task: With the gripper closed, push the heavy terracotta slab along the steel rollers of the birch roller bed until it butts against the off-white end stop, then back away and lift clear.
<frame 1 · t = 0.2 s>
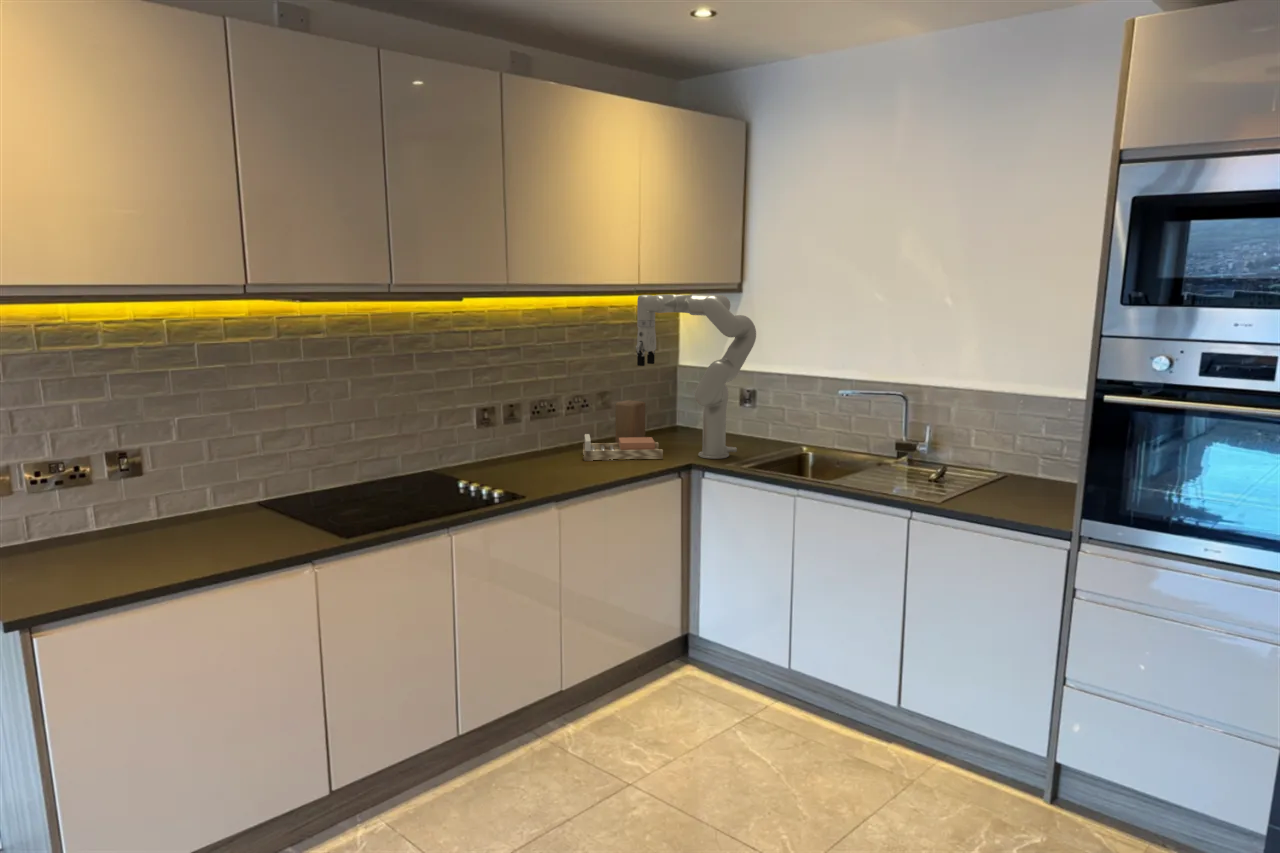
hand: (645, 364, 351), 37 cm above the table, tool pointing down, fingers open, 9 cm apart
rollers: (622, 450, 342), point 2 cm above the table
end stop: (587, 445, 340), point 5 cm above the table
slab: (636, 443, 342), point 5 cm above the table, slide at 0.0 cm
roller bed: (622, 456, 342), on the table
wooden block: (630, 447, 361), on the table
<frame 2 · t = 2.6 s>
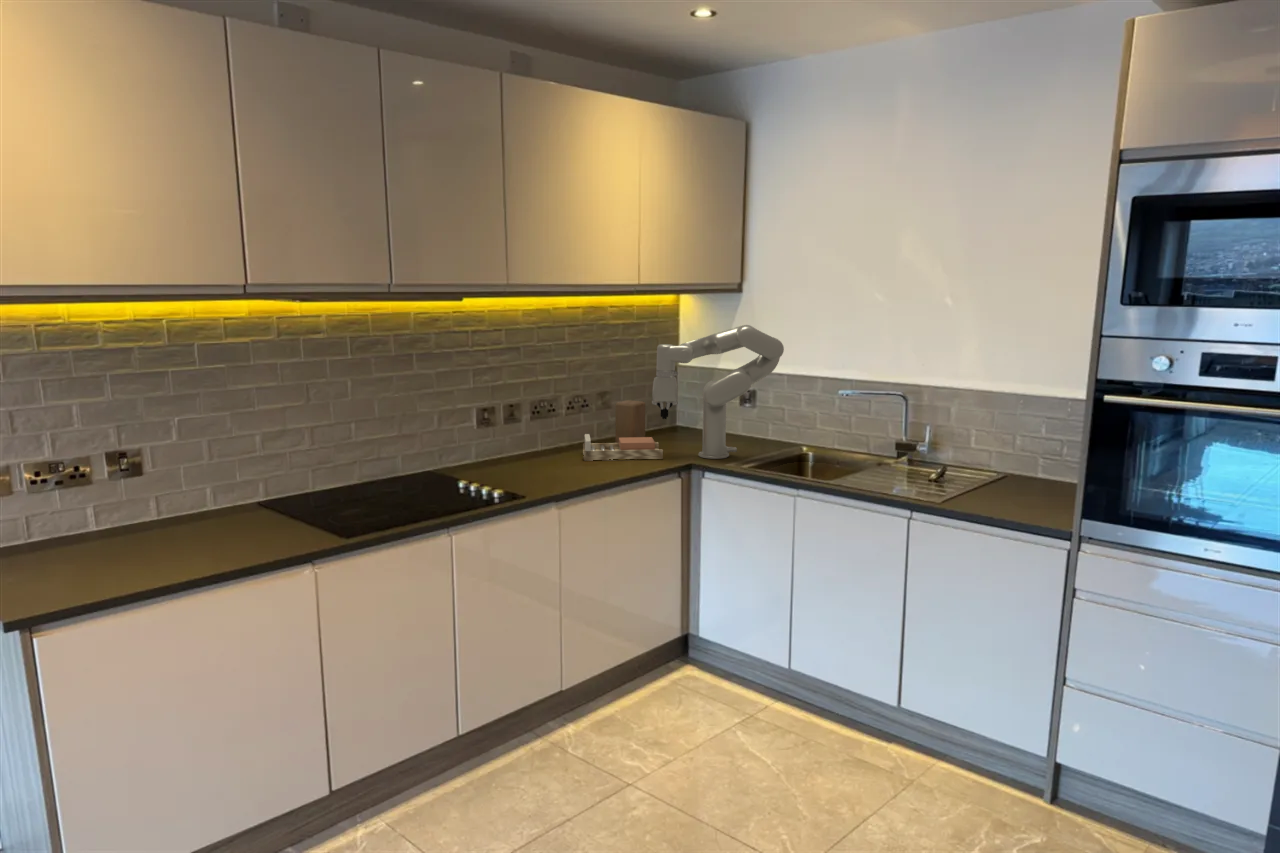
hand: (664, 418, 341), 16 cm above the table, tool pointing down, fingers closed
nothing on the table moved.
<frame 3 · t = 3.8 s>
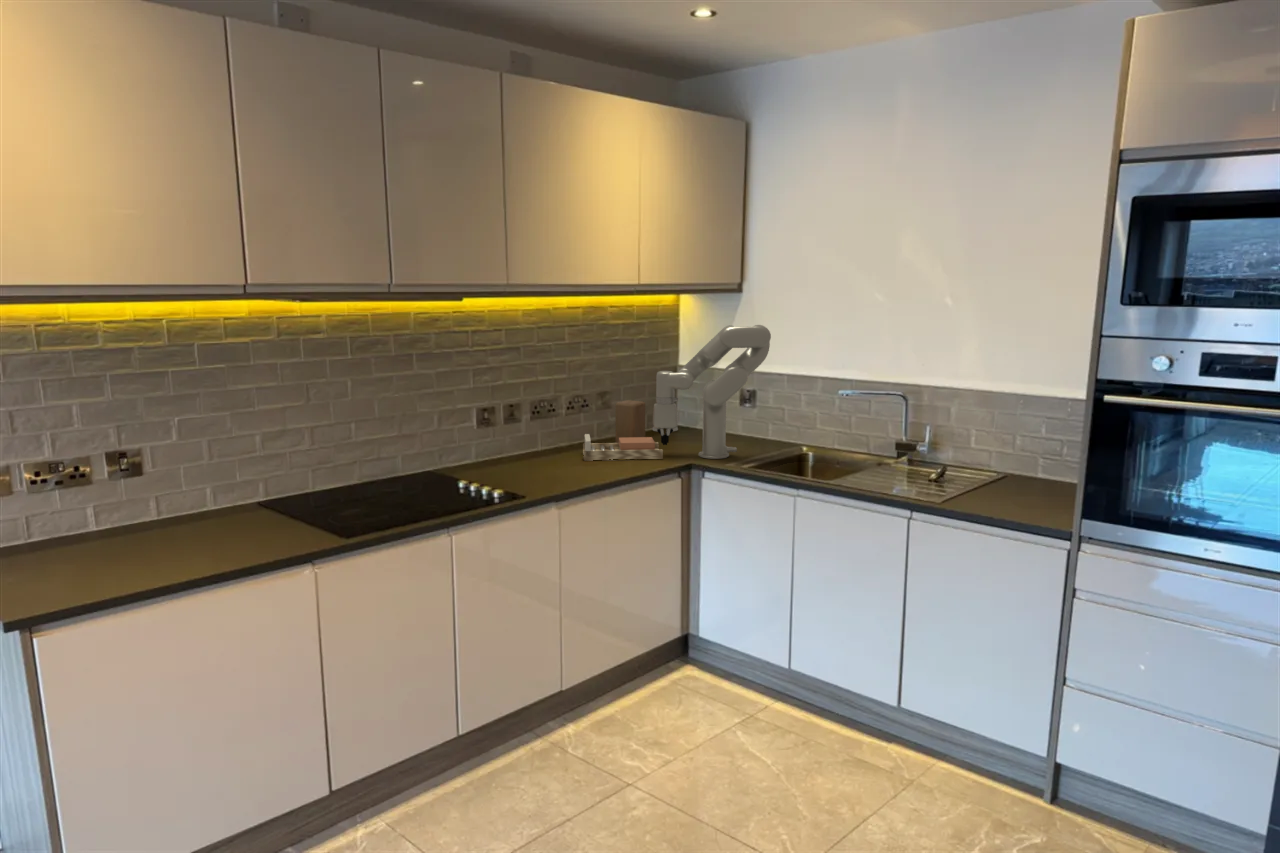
hand: (664, 444, 343), 5 cm above the table, tool pointing down, fingers closed
nothing on the table moved.
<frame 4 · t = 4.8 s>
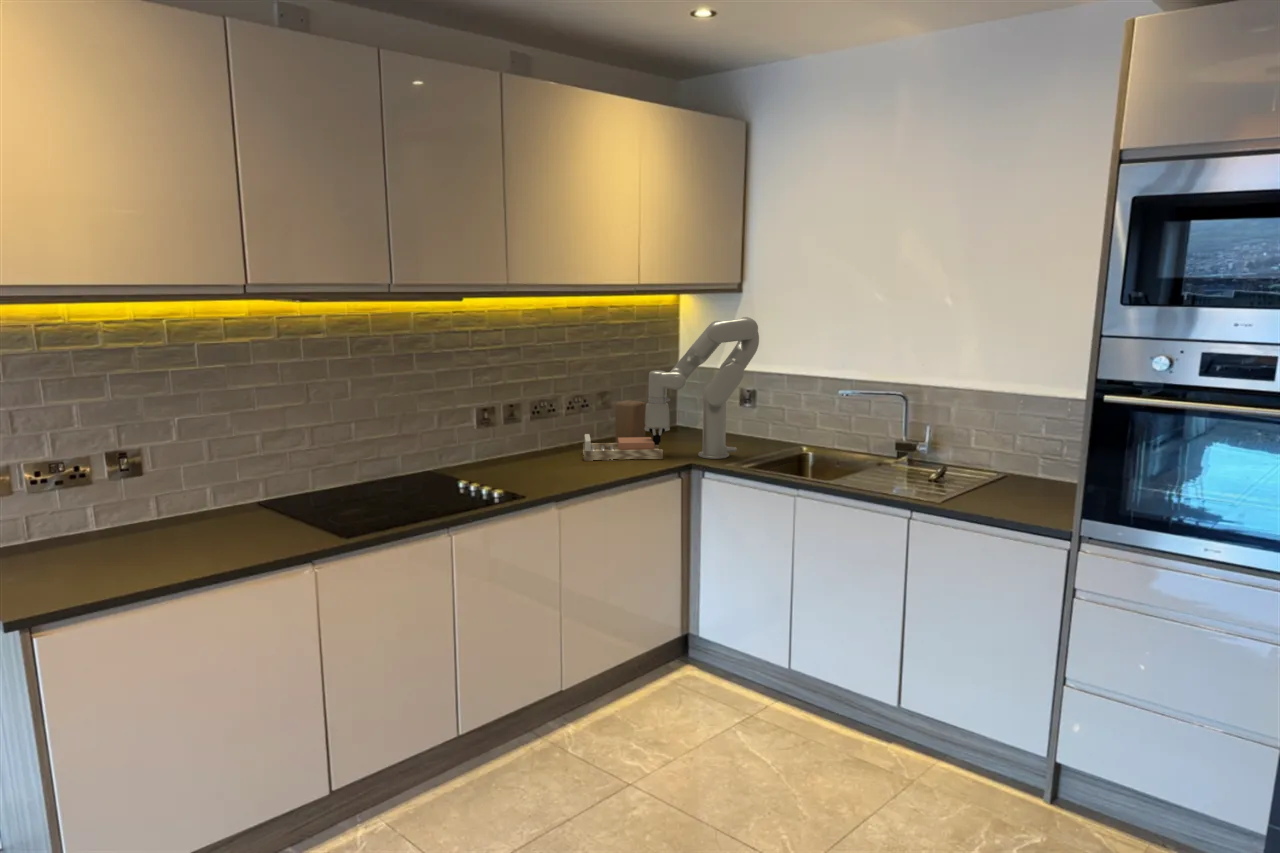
hand: (656, 444, 343), 5 cm above the table, tool pointing down, fingers closed
slab: (635, 443, 342), point 5 cm above the table, slide at 0.4 cm, touching gripper
everything else where it was.
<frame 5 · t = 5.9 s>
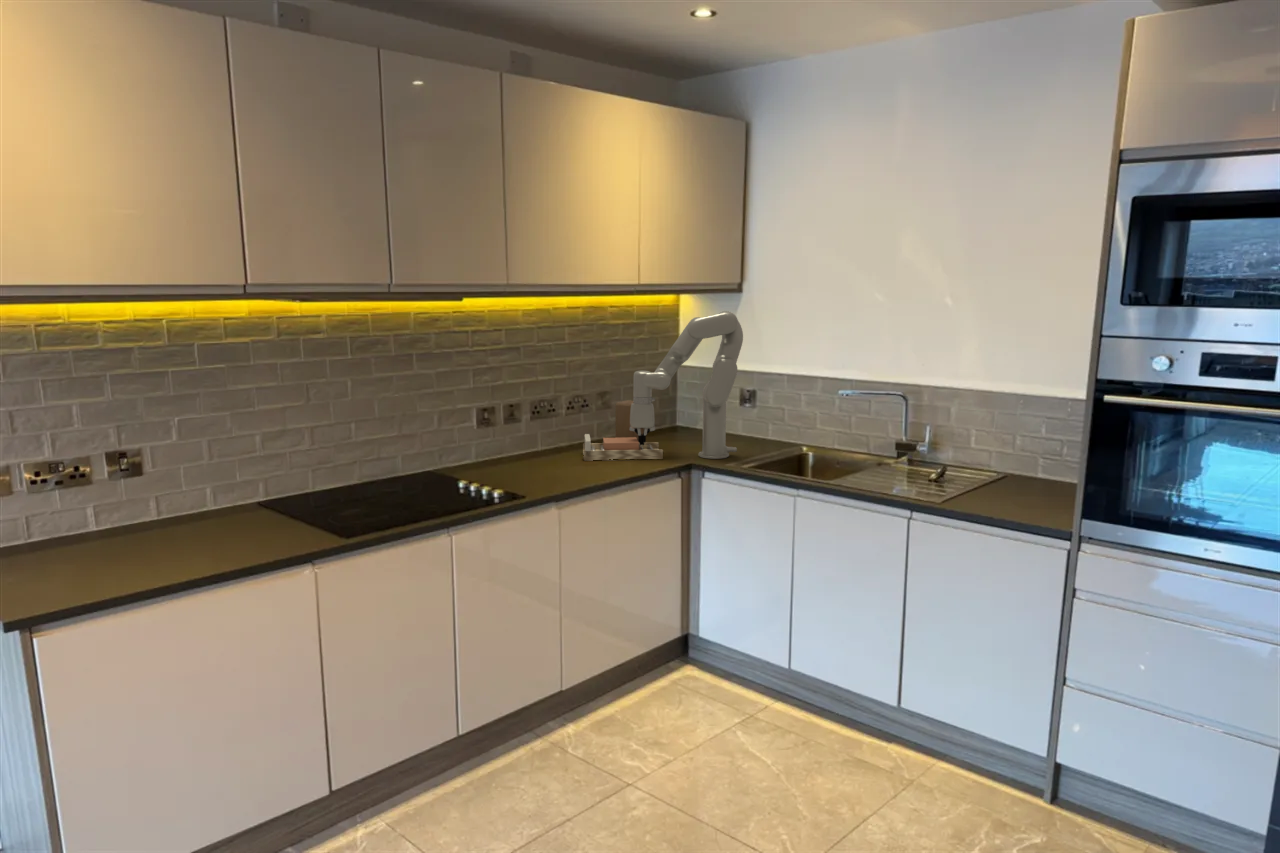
hand: (641, 444, 342), 5 cm above the table, tool pointing down, fingers closed
slab: (620, 443, 341), point 5 cm above the table, slide at 6.6 cm, touching gripper
everything else where it was.
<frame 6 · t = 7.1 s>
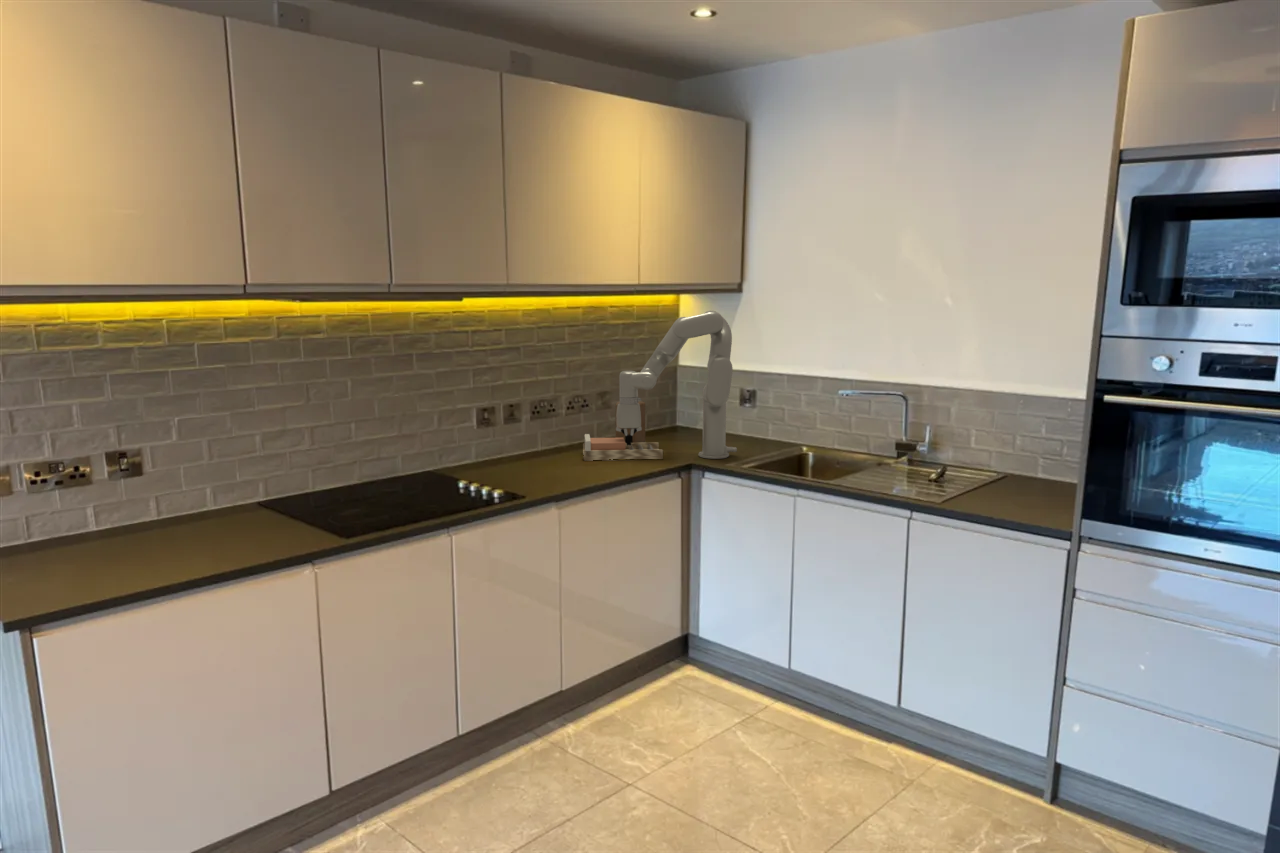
hand: (628, 444, 342), 5 cm above the table, tool pointing down, fingers closed
slab: (607, 444, 341), point 5 cm above the table, slide at 12.1 cm, touching gripper
everything else where it was.
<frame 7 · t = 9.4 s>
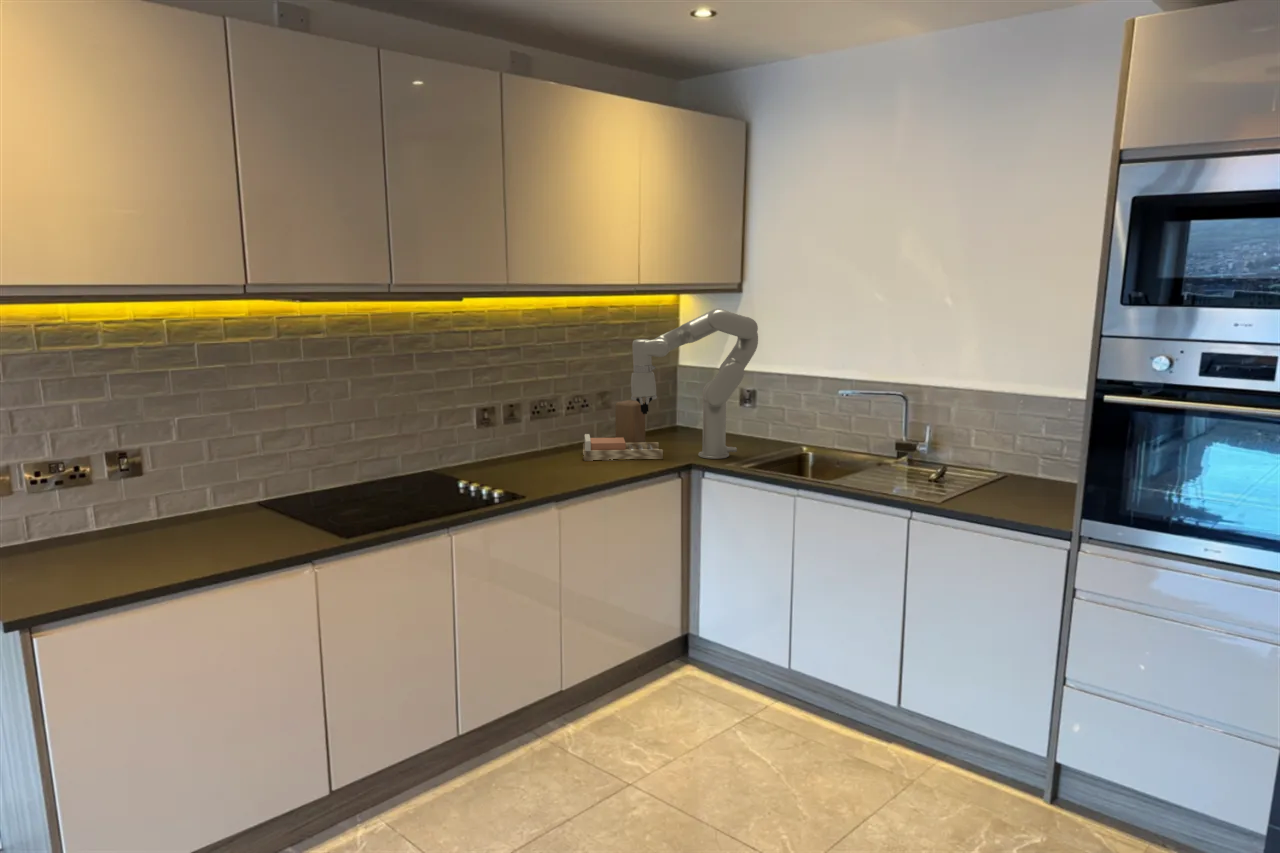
hand: (644, 413, 340), 18 cm above the table, tool pointing down, fingers closed
slab: (607, 444, 341), point 5 cm above the table, slide at 12.0 cm
everything else where it was.
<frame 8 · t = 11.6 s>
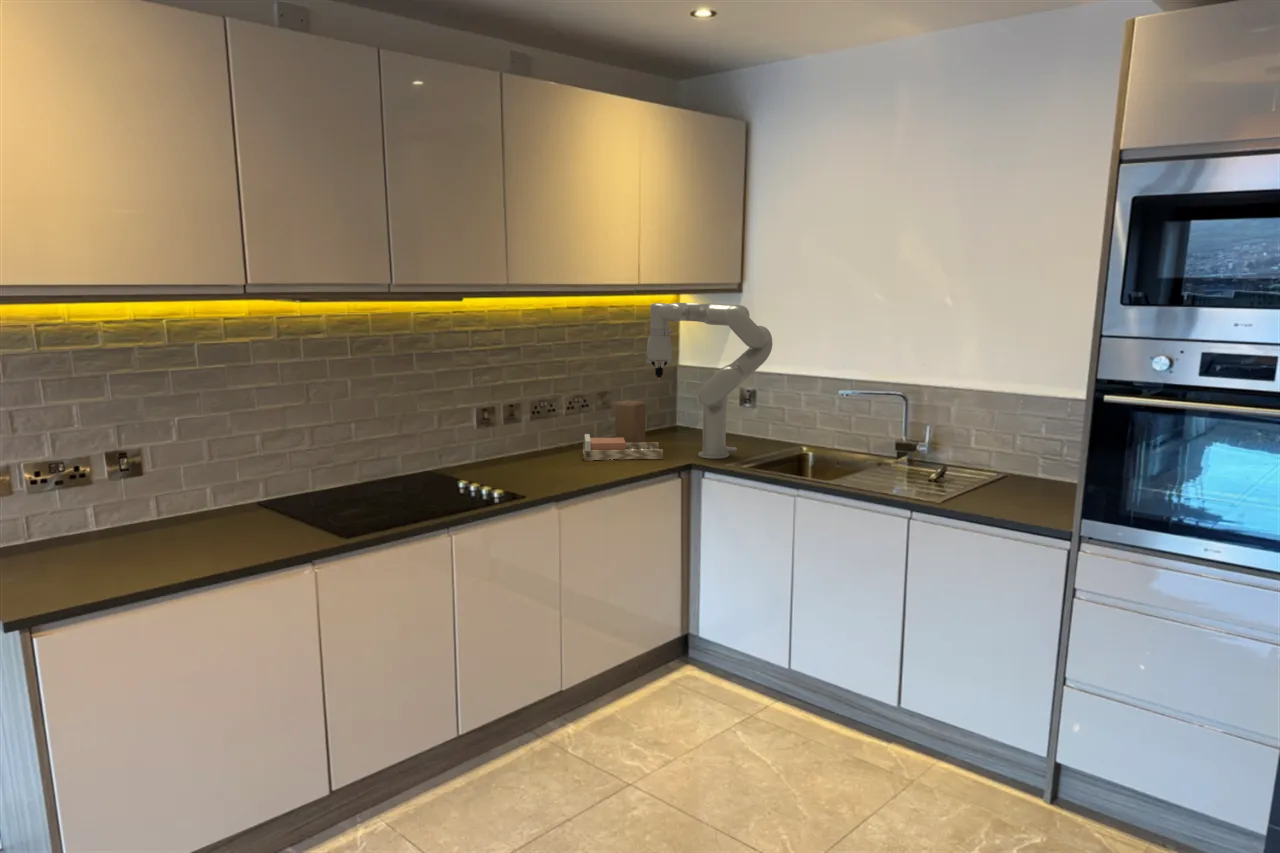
hand: (659, 377, 345), 32 cm above the table, tool pointing down, fingers closed
nothing on the table moved.
at the end: slab slide at 12.0 cm; wooden block moved 0.2 cm from its start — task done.
